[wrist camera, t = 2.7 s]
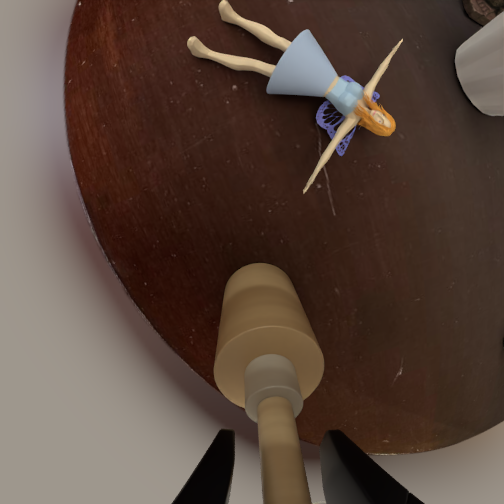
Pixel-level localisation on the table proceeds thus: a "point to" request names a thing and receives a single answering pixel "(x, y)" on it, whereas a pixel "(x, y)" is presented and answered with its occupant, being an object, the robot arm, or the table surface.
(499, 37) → the cup
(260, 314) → the post
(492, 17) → the statue
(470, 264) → the table surface
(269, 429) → the stepped wooden peg
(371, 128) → the fairy figurine
